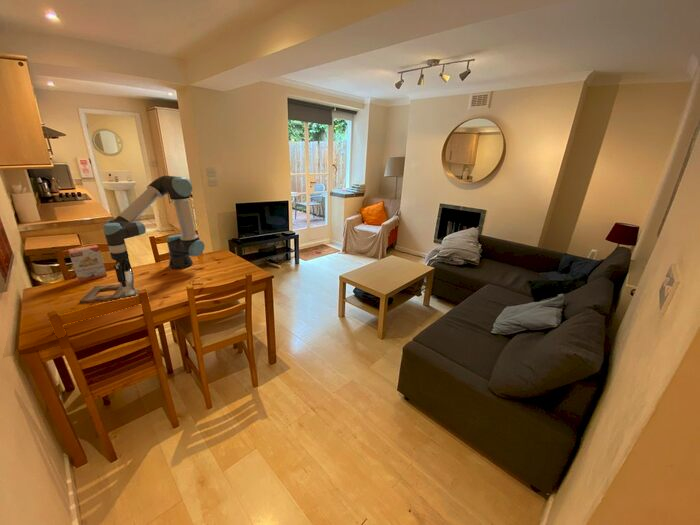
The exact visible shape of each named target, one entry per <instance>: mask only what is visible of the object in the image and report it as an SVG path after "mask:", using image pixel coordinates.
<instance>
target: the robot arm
mask: <svg viewBox="0 0 700 525" xmlns="http://www.w3.org/2000/svg"><path fill="white" fill-rule="evenodd" d="M192 193H193V186H192V183H191V181H190V180H189V179H187V178H185V177H183V176H175V175H161V176H159V177H157V178H156V179H154V180H153V181H151V182H150V183H149V184H148V185H147V186H146V189H145V190H144V192H142V193H141V194H140V195H139V196H138V197H137V198H135V199H134V201H133V202H132V203H131V204H129V205H128V206H127V207H126V208H125V209H124V210H123V211H122V212H121V213H119V215H118V216H116V217H115V218H114V219H108V220H107V221H106V222H105V224H103V225H102V230H103V234H104V236H105V240H106V244H107V248H108V251H109V253H110V257H111V260H113V261H115V265H113V267H114V268H113V269H114V270H115V274H116V278H117V282H118V283H120V282H121V285H122V288H123V291H124V292H126V291H130V290H129V286H128V283H127V280H126V278H125V271H128V270H129V269H128V268H130V269H131V271H132V273H134V271H133V268H132V265H131V263H130V258H129V253H128V248H127V245H126V241H125V240H126V239H129V238H133V237H138V236H139V237H140V236H141V235H144V234H146V230H147V228H146V226H145V224H144V223H143V222H140V221H136V220H137V219H138V218H140V216H141V215H142V214H143V213H144V212H146V211H147V209H148V208H149V207H151V206H152V205H153V204H154V202H156V201H157V200H158V199H161V198H163V197H164V196H165V195H169V200H171V201H172V202H173V205H174V209H175V213H176V217H177V222H178V225H179V230H180V232H181V233H179V234H178V233H176V234H172V235H168V236H167V237H166V243H167V248H168V252H169V261H168V266H169V268H170V269H173V270H182V269H186V268H189V267H191V266H192V265H193V264H194V263H193V259H192V258H191V257H198V256H200V255H201V254H203V253H204V250H205V243H204V241H202V239H200V236H199V235H198V234H197V233H196V228H195V224H194V219H193V216H192V211H191V206H190V203H189V202H190V199H191V195H192Z"/></svg>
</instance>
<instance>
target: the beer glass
mask: <svg viewBox="0 0 700 525" xmlns="http://www.w3.org/2000/svg"><path fill="white" fill-rule="evenodd" d="M128 269H129V270H128V271H125V278H126V280H127V283H128V286H129V290H130V291H126V292H124V295H125V296H131V295H134V294H136V293H137V291H136V290H137V289H136V287H135V276H134V272H132V271H133V270H132V271H131V269H130V268H128ZM119 283H120V284H121V282H119ZM121 286H122V285H121Z"/></svg>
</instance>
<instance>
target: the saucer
mask: <svg viewBox="0 0 700 525" xmlns="http://www.w3.org/2000/svg"><path fill="white" fill-rule="evenodd" d="M136 291H137V293H136V294H134V295H131V296H137V294H138V291H139V290H137V289H136ZM131 296H125V295H124V293H123V294H122V295H121V296H120V298H126V297H131ZM120 298H119V299H120ZM119 299H118V300H119Z"/></svg>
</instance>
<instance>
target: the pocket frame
mask: <svg viewBox="0 0 700 525" xmlns="http://www.w3.org/2000/svg"><path fill="white" fill-rule="evenodd" d="M113 290H115V291H114V292H113V294H106V295H98V294H99V293H100V292H101V291H102V292H103V291H113ZM123 293H124V291H123V288H122V286H121V284H119V283H118V284H109V285H108V284H107V285H97V286H93V287H92V288H91V289H90V290H89V291H88V292H87V293H86V294H85V295H84V296H83V297H81V299H80V300H79V303H80V304H87V303H86V302H88V303H95V302H94V301H98V302H103V301H102V300H106V301H108V302H109V301H116V300H115V299H118V300H119V298H120V296H121V295H122V294H123ZM106 301H105V302H106Z"/></svg>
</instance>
